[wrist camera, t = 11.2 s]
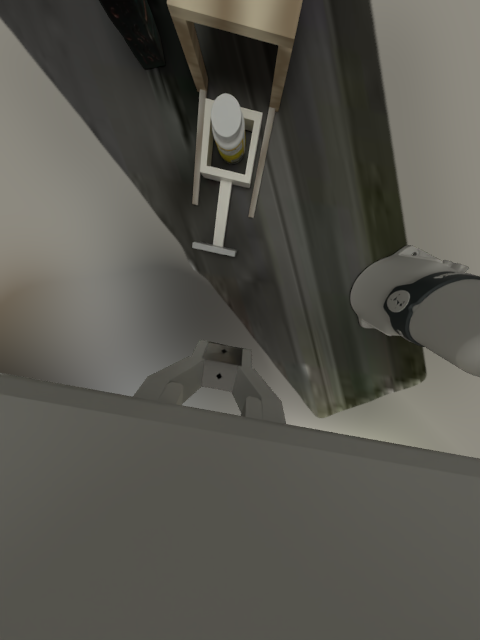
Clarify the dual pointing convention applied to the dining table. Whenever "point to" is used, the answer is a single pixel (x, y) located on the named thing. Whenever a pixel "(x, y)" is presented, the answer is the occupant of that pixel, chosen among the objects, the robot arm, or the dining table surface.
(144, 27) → the green backpack
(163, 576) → the robot arm
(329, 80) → the dining table surface
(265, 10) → the tunnel
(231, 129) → the supplement bottle
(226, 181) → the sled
